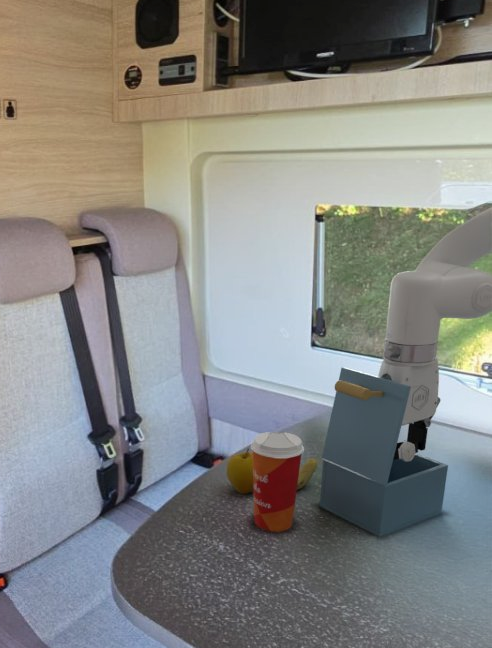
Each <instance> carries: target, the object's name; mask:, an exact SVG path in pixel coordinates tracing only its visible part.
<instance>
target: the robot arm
mask: <svg viewBox="0 0 492 648" xmlns="http://www.w3.org/2000/svg"><path fill="white" fill-rule="evenodd" d="M490 254H492V206H491V207H488V208H487V209H485V210H483V211H481V212H480V213H478V214H476V215H475V216H473V217H471V218H469V219H468V220H466V221H465V222H464V223H462V224H459V225H458V226H456V227H455V228H454V229H452V230H450V231H449V232H447V234H446V235H444V236H443V237H442V238H440V239H439V241H437V243H436V244H435V245H434V246H433V247H432V248H431V249H430V250H429V252H427V254H426V255H425V256H424V257H423V258H422V260H421V261H420V262H419V263H418V265H417V267H416V268H415V270H409V271H402V272H398V273H396V274H395V275H394V276H393V277H392V279H391V283H390V288H389V300H388V309H387V317H386V318H387V319H386V330H385V338H384V347H383V360H382V361H381V363H380V364H381V365H380V368H379V372H378V376H377V377H380V378H384V379H387V380H391V381H394V382H398V383H401V384H405V385H408V386H411V389H410V393H409V397H408V401H407V405H406V409H405V413H404V417H403V421H402V425H401V427H402V426H406V425H408V430H407V438H406V442H407V441H416V442H418V451H420V452H421V451H425V450H426V445H427V438H428V430H429V427H430V426H431V424H432V421H431V420H432V419H433V417H434V416H435V414H436V412H437V408H438V407H439V405H440V403H441V398H440V397H439V383H440V370H439V359H438V358H437V350H438V344H439V335H440V329H441V328H440V327H441V321H442V319H458V320H459V319H461V320H472V319H473V320H474V319H477V318H481V317H483V316H486V315H488V314H489V313H491V312H492V273H489V272H488V271H485V270H482V269H479V268H478V269H477V268H472V267H470V266H471V265H472V264H474V263H475V262H477V261H479V260H481V259H482V258H484V257H485V256H488V255H490Z"/></svg>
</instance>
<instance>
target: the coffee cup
mask: <svg viewBox="0 0 492 648" xmlns="http://www.w3.org/2000/svg"><path fill="white" fill-rule="evenodd" d="M250 449H251V450H252V453H253V483H254V491H253V514H254V516H253V517H254V525H256V526H257V527H258V528H260V529H262V530H263V531H267V532H276V533H277V532H284V531H287V530H290V529H291V527H292V525H293V520H294V514H295V507H296V499H297V492H298V490H297V485H298V477H299V470H300V469H301V462H302V461H301V460H302V455H303V453H304V451H305V447H304V445H303V441H302V439H301V438H300V436H298V435H296V434H293V433H289V432H285V431H284V432H283V433H281V432H280V431H272V432H270V431H266V432H261V433H259V434H256V435H255V436H254V438H253V441H252V443H251V444H250Z"/></svg>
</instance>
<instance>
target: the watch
mask: <svg viewBox="0 0 492 648" xmlns="http://www.w3.org/2000/svg"><path fill="white" fill-rule="evenodd" d="M418 452H419V450H418V442H416V441H407V439H406V440H403V441H398V442H397V446H396V450H395V454H394V458H393V460H396V459H402V460H403V461H405V462H407V461H411V460H412V459H413V458H414V456H415V453H416V454H418Z"/></svg>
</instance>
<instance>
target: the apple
mask: <svg viewBox="0 0 492 648" xmlns="http://www.w3.org/2000/svg"><path fill="white" fill-rule="evenodd" d="M226 476H227V479H228V481H229V483H230V484H231V485H232V486H233V488H234V489H235V490H236V491H237V492H238V493H239V494H240V495H247V494H251V493H254V483H253V452H252V451H251V452H250V448H249V447H248V448H247V450H246V451H245V452H240V453H236V454H234V455H232V456H231V457H230V458H229V460H228V462H227V464H226Z"/></svg>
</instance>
